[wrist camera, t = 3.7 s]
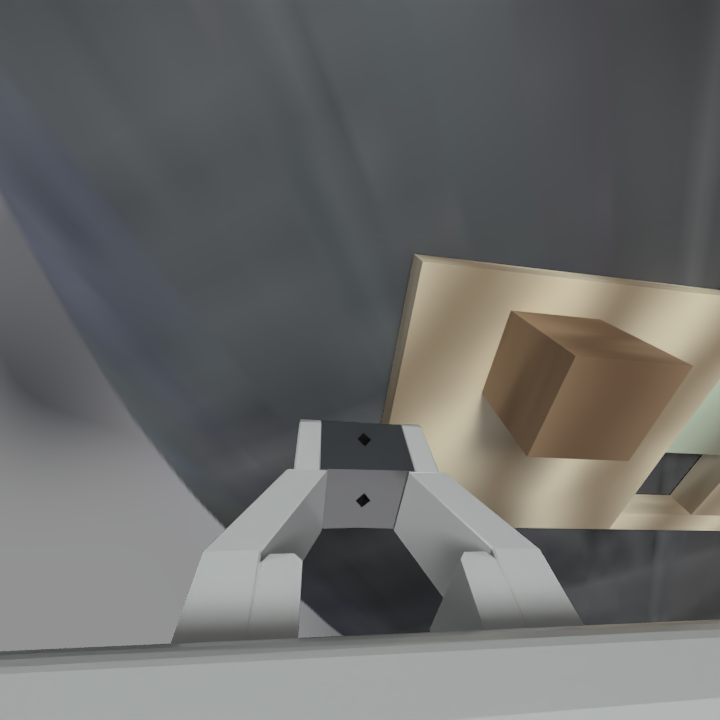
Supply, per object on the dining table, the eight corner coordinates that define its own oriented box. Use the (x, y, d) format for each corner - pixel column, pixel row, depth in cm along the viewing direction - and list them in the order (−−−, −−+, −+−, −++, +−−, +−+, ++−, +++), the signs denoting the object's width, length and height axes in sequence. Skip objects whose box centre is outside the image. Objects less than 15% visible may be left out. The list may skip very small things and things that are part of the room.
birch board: (883, 309, 16) (932, 320, 15) (701, 511, 23) (723, 530, 22) (413, 253, 13) (422, 261, 12) (365, 503, 20) (368, 525, 19)
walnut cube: (600, 319, 14) (693, 366, 10) (561, 398, 15) (628, 461, 12) (510, 310, 13) (575, 355, 10) (481, 393, 15) (527, 456, 11)
